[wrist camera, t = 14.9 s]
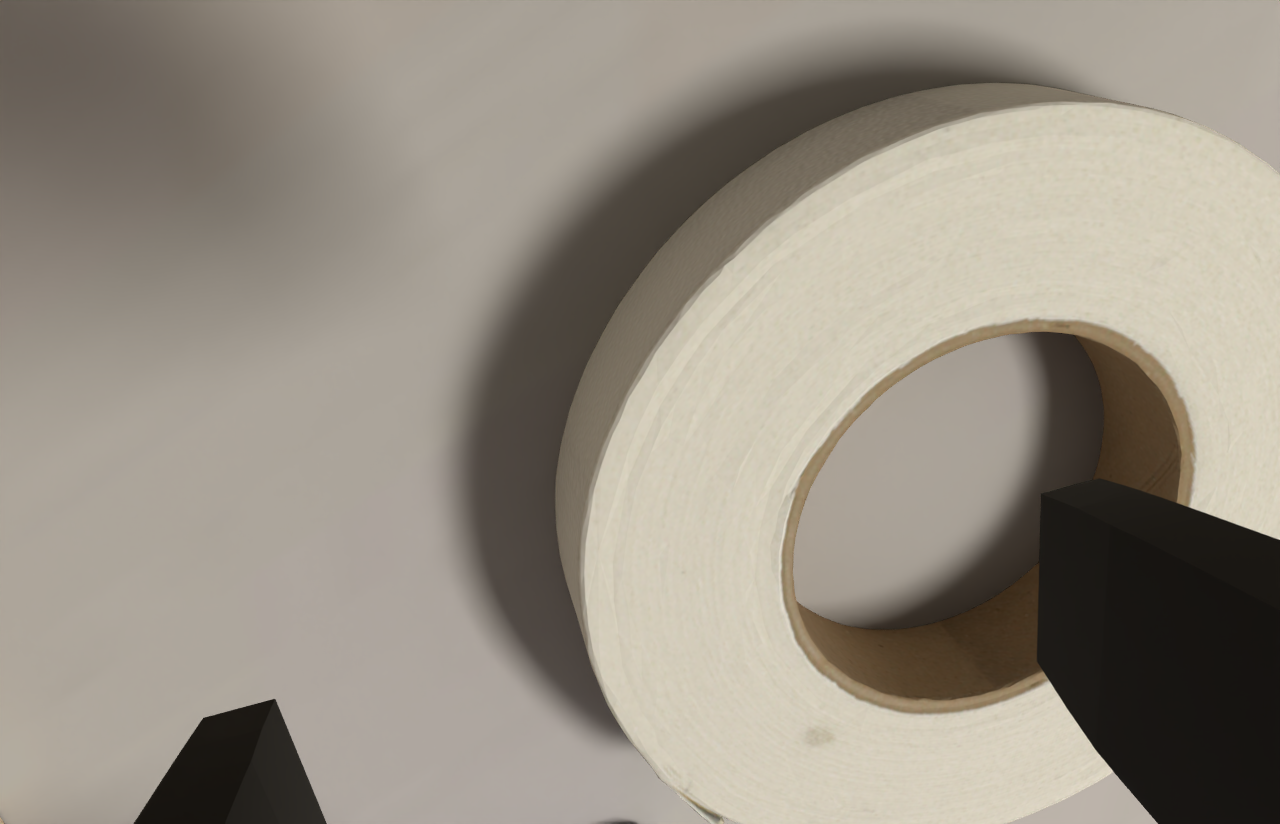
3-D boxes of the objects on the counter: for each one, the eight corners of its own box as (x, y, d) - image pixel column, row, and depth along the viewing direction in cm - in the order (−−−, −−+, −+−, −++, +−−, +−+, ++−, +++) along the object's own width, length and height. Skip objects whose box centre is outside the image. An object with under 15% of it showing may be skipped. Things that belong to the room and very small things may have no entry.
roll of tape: (803, -91, 16) (881, -95, 14) (1388, 276, 22) (1519, 321, 19) (427, 671, 21) (433, 775, 18) (994, 813, 26) (1059, 907, 24)
